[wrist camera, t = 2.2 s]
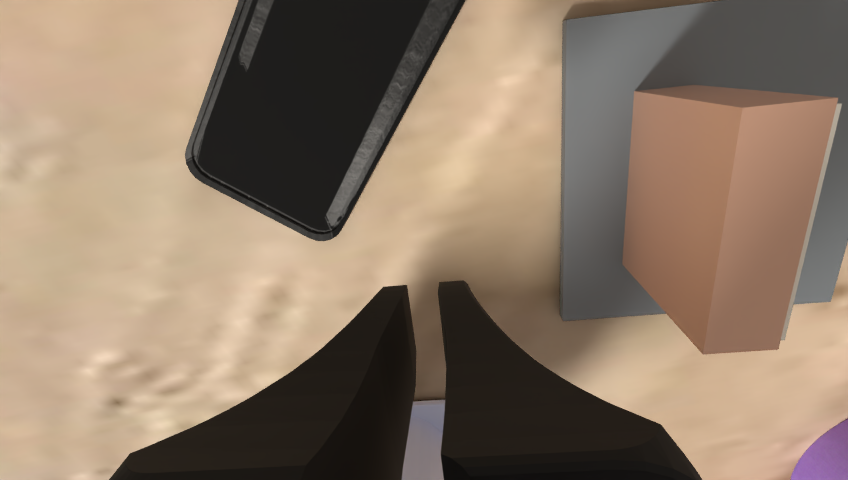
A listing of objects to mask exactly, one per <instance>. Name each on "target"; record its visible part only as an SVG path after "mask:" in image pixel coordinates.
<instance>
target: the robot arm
mask: <svg viewBox="0 0 848 480" xmlns="http://www.w3.org/2000/svg"><path fill="white" fill-rule="evenodd" d="M438 297H439V306H440V315H441V324H442V333H443V342H444V351H445V360H446V394H445V400H430V401H414V402H413V399H414V392H415V383H416V346H415V339H414V332H413V325H412V318H411V311H410V303H409V296H408V289H407V285H401V286H389V287H383V288H382V289H381V290H380V291H379V292H378V293H377V294H376V295H375V296H374V297H373V299H372V300H371V301H370V302H369V303H368V304H367V305H366V306H365V307H364V308H363V309H362V310H361V311H360V312H359V314H358V315H357V316H356V317H355V318H354V319H353V320H352V321H351V322H350V323H349V324H348V325H347V326H346V327H345V328H344V329H342V330H341V331H340V332H339V333H338V334H337V335H336V336H335V337H334V338H333V339H332V340H330V341H329V342H328V343H327V344H326V345H325V346H324V347H323V348H322V349H320V350H319V351H318V352H317V353H315V354H314V355H313V356H312V357H310V358H309V359H308V360H306V361H305V362H304V363H302V364H301V365H300V366H298V367H297V368H296V369H294V370H293V371H292V372H290V373H289V374H287V375H286V376H284V377H283V378H281V379H279V380H278V381H276V382H275V383H273V384H271V385H270V386H268V387H267V388H265V389H263V390H262V391H260V392H259V393H257V394H255V395H254V396H252V397H250V398H249V399H247V400H245V401H243V402H241V403H240V404H238V405H236V406H234V407H232V408H230V409H229V410H227V411H225V412H223V413H221V414H219V415H217V416H215V417H213V418H211V419H209V420H207V421H205V422H203V423H200V424H198V425H196V426H194V427H192V428H190V429H187V430H185V431H183V432H180V433H178V434H176V435H173V436H171V437H169V438H166V439H164V440H162V441H159V442H157V443H155V444H152V445H150V446H148V447H145V448H143V449H140V450H138V451H135V452H133V453H130V454H129V456H128V457H127V458H126V459H125V460H124V462H123V463H122V464H121V465H120V467H119V468H118V469H117V471H116V472H115V473H114V474H113V476H112V477H111V478H110V479H109V480H702V479H701V477H700V475H699V474H698V472H697V471H696V469H695V468H694V467H693V465H692V464H691V462H690V461H689V460H688V458H687V457H686V456H685V454H684V453H683V452H682V450H681V449H680V448H679V447H678V446H677V444H676V443H675V442H674V441H673V439H672V438H671V437H670V436H669V434H668V433H667V432H666V431H665V429H664V428H663V427H662V425H660V424H658V423H656V422H653V421H651V420H649V419H646V418H644V417H641V416H639V415H637V414H634V413H632V412H629V411H627V410H624V409H622V408H620V407H617V406H615V405H612V404H610V403H608V402H606V401H604V400H602V399H600V398H598V397H596V396H594V395H592V394H590V393H588V392H586V391H584V390H582V389H580V388H578V387H577V386H575V385H573V384H571V383H570V382H568V381H566V380H564V379H563V378H561V377H560V376H558V375H557V374H555V373H553V372H552V371H550V370H549V369H547V368H546V367H544V366H543V365H541V364H540V363H538V362H537V361H536V360H534V359H533V358H532V357H531V356H529V355H528V354H527V353H526V352H524V351H523V350H522V349H521V348H520V347H519V346H518V345H516V344H515V343H514V342H513V341H512V340H511V339H510V338H509V337H508V336H507V335H506V334H505V333H504V332H503V331H502V330H501V329H500V328H499V327H498V326H497V325H496V323H495V322H494V321H493V320H492V319H491V318H490V316H489V315H488V314H487V313H486V312H485V310H484V309H483V308H482V307H481V305H480V304H479V302H478V301H477V300H476V298H475V297H474V295H473V293H472V292H471V290H470V288H469V286H468V284H467V283H466V282H465V281H451V282H439V288H438Z"/></svg>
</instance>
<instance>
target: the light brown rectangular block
mask: <svg viewBox="0 0 848 480" xmlns="http://www.w3.org/2000/svg"><path fill="white" fill-rule="evenodd" d="M837 101H838V98H836V97H825V96H814V95H803V94H792V93H781V92H770V91H759V90H748V89H737V88H725V87H714V86H703V85H687V86H678V87H669V88H659V89H650V90H641V91H634V101H633V115H632V130H631V144H630V159H629V173H628V188H627V202H626V217H625V231H624V246H623V260H622V265H623V266H624V267H625V268H626V269H627V270H628V271H629V272H630V273H631V275H632V276H633V277H634V278H635V279H636V280H637V281H638V282H639V284H640V285H641V286H642V287H643V288H644V289H645V290H646V291H647V292H648V294H649V295H650V296H651V297H652V298H653V299H654V300H655V301H656V302H657V304H658V305H659V306H660V307H661V308H662V309H663V310H664V311H665V313H666V314H667V315H668V316H669V317H670V318H671V319H672V320H673V321H674V323H675V324H676V325H677V326H678V327H679V328H680V329H681V330H682V332H683V333H684V334H685V335H686V336H687V337H688V338H689V339H690V340H691V342H692V343H693V344H694V345H695V346H696V347H697V348H698V349H699V350H700V352H701V353H702V354H715V353H731V352H746V351H761V350H777V349H779V344H780V340H785V337H786V332H787V328H788V324H789V320H790V316H791V312H792V308H793V304H794V300H795V295H796V291H797V287H798V283H799V279H800V275H801V271H802V267H803V263H804V258H805V254H806V250H807V246H808V242H809V238H810V234H811V230H812V226H813V221H814V217H815V213H816V209H817V205H818V201H819V197H820V193H821V188H822V184H823V180H824V176H825V172H826V168H827V164H828V160H829V156H830V151H831V147H832V143H833V139H834V135H835V131H836V127H837V123H838V119H839V114H840V110H841V106H842V104H841V103H837Z"/></svg>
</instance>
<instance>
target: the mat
mask: <svg viewBox="0 0 848 480" xmlns="http://www.w3.org/2000/svg"><path fill="white" fill-rule="evenodd" d="M687 85H703V86H714V87H725V88H737V89H748V90H759V91H770V92H781V93H792V94H803V95H814V96H825V97H836V98H838V101H837V103H841V104H842V106H841V110H840V114H839V119H838V123H837V127H836V131H835V135H834V139H833V143H832V147H831V151H830V156H829V160H828V164H827V168H826V172H825V176H824V180H823V184H822V188H821V193H820V197H819V201H818V205H817V209H816V213H815V217H814V221H813V226H812V230H811V234H810V238H809V242H808V246H807V250H806V254H805V258H804V263H803V267H802V271H801V275H800V279H799V283H798V287H797V291H796V295H795V300H794V304H805V303H819V302H831V299H832V295H833V292H834V288H835V285H836V281H837V277H838V274H839V270H840V267H841V263H842V260H843V256H844V252H845V249H846V245H847V242H848V0H721V1H713V2H705V3H697V4H689V5H681V6H673V7H665V8H657V9H649V10H641V11H632V12H624V13H616V14H608V15H600V16H592V17H584V18H576V19H568V20H564V21H563V43H562V149H561V254H560V316H561V318H562V320H563V321H571V320H585V319H598V318H612V317H626V316H640V315H653V314H666V313H665V311H664V310H663V309H662V308H661V307H660V306H659V305H658V304H657V302H656V301H655V300H654V299H653V298H652V297H651V296H650V295H649V294H648V292H647V291H646V290H645V289H644V288H643V287H642V286H641V285H640V284H639V282H638V281H637V280H636V279H635V278H634V277H633V276H632V275H631V273H630V272H629V271H628V270H627V269H626V268H625V267H624V266H623V265H622V260H623V246H624V231H625V217H626V202H627V188H628V173H629V159H630V144H631V130H632V115H633V101H634V91H641V90H650V89H659V88H669V87H678V86H687Z"/></svg>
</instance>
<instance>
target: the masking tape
mask: <svg viewBox="0 0 848 480" xmlns="http://www.w3.org/2000/svg"><path fill="white" fill-rule="evenodd" d="M791 480H848V419H846V420H845V421H843V422H841V423H839V424H838V425H836V426H835V427H833V428H832V429H830V430H829V431H827V432H826V433H825V434H823V435H822V436H821V437H820V438H818V439H817V440H816V441H815V442H814V443H813V444H812V445H811V446H810V447H809V448H808V449H807V450H806V452H805V453H804V454H803V455H802V457H801V458H800V459H799V461H798V463H797V465H796V466H795V468H794V471H793V473H792V476H791Z"/></svg>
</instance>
